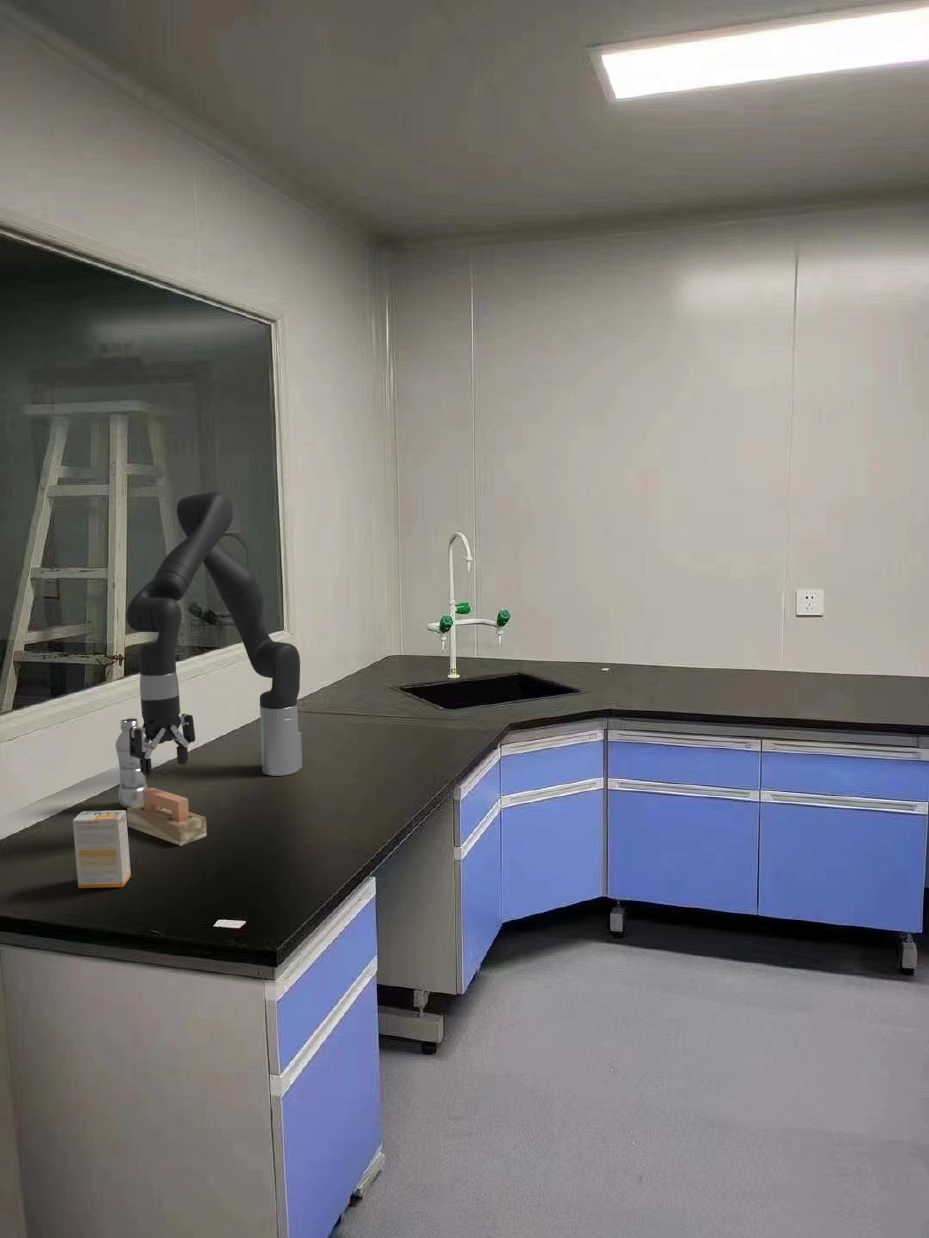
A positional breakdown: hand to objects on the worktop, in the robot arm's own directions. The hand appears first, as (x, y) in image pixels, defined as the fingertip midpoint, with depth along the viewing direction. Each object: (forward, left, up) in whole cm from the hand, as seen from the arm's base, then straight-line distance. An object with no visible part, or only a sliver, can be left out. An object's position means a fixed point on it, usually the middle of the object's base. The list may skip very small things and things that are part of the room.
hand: (165, 769), depth 187 cm
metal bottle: (-5, -19, -14) cm, 24 cm away
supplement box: (+22, +12, -14) cm, 29 cm away
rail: (0, 0, -13) cm, 13 cm away
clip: (0, 0, -13) cm, 13 cm away
